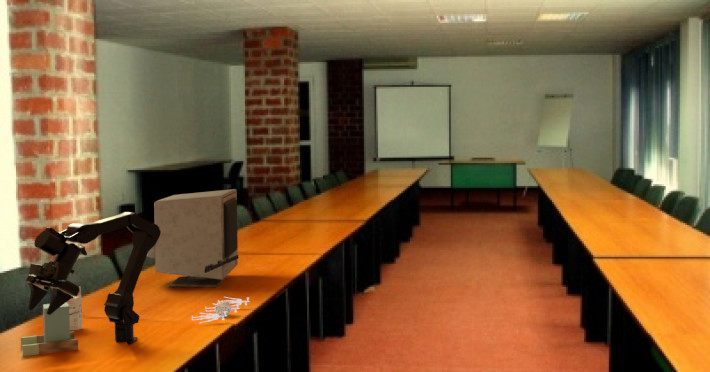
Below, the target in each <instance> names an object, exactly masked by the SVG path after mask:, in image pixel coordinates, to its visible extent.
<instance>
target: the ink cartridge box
mask: <svg viewBox="0 0 710 372" xmlns="http://www.w3.org/2000/svg"><path fill="white" fill-rule="evenodd" d="M78 286H79V285H78ZM79 289H80V292H79V294H78V296H73V297H74V298H73V299H70V300H69V301H67V303H68V305H69V320H70V331H79V330H82V329H83V300H82V299H83V296H82V287H81V286H79Z"/></svg>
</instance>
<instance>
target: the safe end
mask: <svg viewBox="0 0 710 372" xmlns="http://www.w3.org/2000/svg"><path fill="white" fill-rule="evenodd" d="M37 336H38V335H31V336H22V337H20V348H21V349H20V350H21V353H22V354H21V355H22V357H28V356H34V355H40V354H39V344H37Z"/></svg>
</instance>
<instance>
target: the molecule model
mask: <svg viewBox="0 0 710 372" xmlns="http://www.w3.org/2000/svg"><path fill="white" fill-rule="evenodd" d="M236 259H240V258H239V254H238V255H235V256H233V257H231V258H229V257H226V258H224V261H222V260H219V261H218V264H215V265H214V264H210V265H208V266H205V272H204V273H207V272H209V271H210V270H214V269H216V268H218V267H220V266H223V265H225V264H226V263H229V262H231V261H234V260H236ZM224 298H226V299H225V300H217V302H216V303H212V305H214V307H212V309H211V307H205V312H208V310H207V309H211V310H209V312H215V313H205V312H199V314H200V315H199V316H193V315H191V321H199V320H205V321H201V322H200V324H203V323H206V322H211V321H215V320H216V321H217V320H219V318H220V319H221V320H222V321H225V317H228V316H229V315H230V314H231V313H232V311H234V313H238V311H237V310H240V307H239V306H241V305H242V304H244V306H248V303H250V302H251V301H250V300H249V299H250V297H246V300H242V299H241V298H234V297H233V298H232V297H227V296H224ZM229 299H230V300H229ZM231 304H233V305H231ZM201 314H202V315H201Z"/></svg>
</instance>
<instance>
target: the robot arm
mask: <svg viewBox="0 0 710 372" xmlns="http://www.w3.org/2000/svg"><path fill="white" fill-rule="evenodd" d="M123 228H127V229H128V231H130V232H131V233H132V237H131V242H132V250H131V253H130V255H129V258H128V261H127V263H126V266H125V269H124V271H123V274H122V277H121V278H120V282H119V283H118V287H117V289H116V290H115V291H114V292H113V293H111V292H109V293H108V294H107V298H106V300H105V302H104V304H103V306H104V308H103V309H104V313H105V316H106V317H107V319H108V320H109V323H114V340H115V342H116V343H126V344H128V345H131V344H133V343H134V342H135V341H137V339H138V337H137V336H134V333H135V332H134V325H136V324H138V323H139V321H140V315H139V314H138V313H137V312H136V311H135V310H134V305H135V300H134V295H133V294H134V292H135V289H136V285H137V283H138V282H139V279H140V276H141V272H142V269H143V268H144V267H143V266H144V264H145V261H146V259H147V254H148V252H149V250H150V249H151V248H152V247H154V246H155V244H156V243H157V241H158V239H159V237H160V234H161V231H160V228H159V227H158V225H156V224H155V223H152V222H151V221H149V220H148V219H145V218H144V217H141V216H140V215H138V213H136V212H133V211H131V212H130V211H124V212H122V213H119V214H116V215H112V216H110V217H106V218H103V219H99V220H97V221H94V222H93V221H92V222H74V223H70V224H69V225H68V226H67V228H66V229H64V230H62V231H60V232H58V231H57V230H56V229H54V228H52V226H51V227H50V226H47V227H46V228H45V229H44V230H43V231H42V232H40V233H39V234H38V235H36V237H35V239H34V247H35V248H36V249H38V250H41V251H42V252H44V253H46V254H48V255H49V256H51V257H55V258H54V260H50V261H49V262H44V263H43V264H38V263H30V265H29V266H30V267H29V271H28V275H27V277H26V279H25V282H27V286H29V289H30V294H29V295H30V296H29V303H28V308H27V309H28V310H29V311H33V310H34V309H35V308H36V307H37V306H38V304H39V303H40V302H41V301H42V300H43V299H44V298H45V296H46V295H47V294H48V293H49V292H48V290H49V289H50V288H52V293H53V295H52V297H51V301H50V303H49V304H50V305H49V307H48V310H47V314H48V315H51V314H52V313H53V312H54V311H56V310H57V309H58V308H59V307H60V306H62V305H63V304H64V303H66V302H67V301H69V300H70V299H73V298H74V297H73V296H78V294H79V292H80V289H79V285H77V284H75V283H73V282H71V281H69V280H68V278H69V277H70V275H71V274H72V275H74V273H75V270H74V266H75V265H76V263H77V261H78V259H79V257H80V256H87V255H88V253H87V251H86V246H83V245H82V244H84V245H85V244H86V245H87V244H89V243H91V242H92V241H95V240H96V239H97V238H99V236H101V235H103V234H106V233H109V232H113V231H116V230H120V229H123ZM68 242H69V243H68ZM77 244H81V245H80V246H79V245H77Z"/></svg>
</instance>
